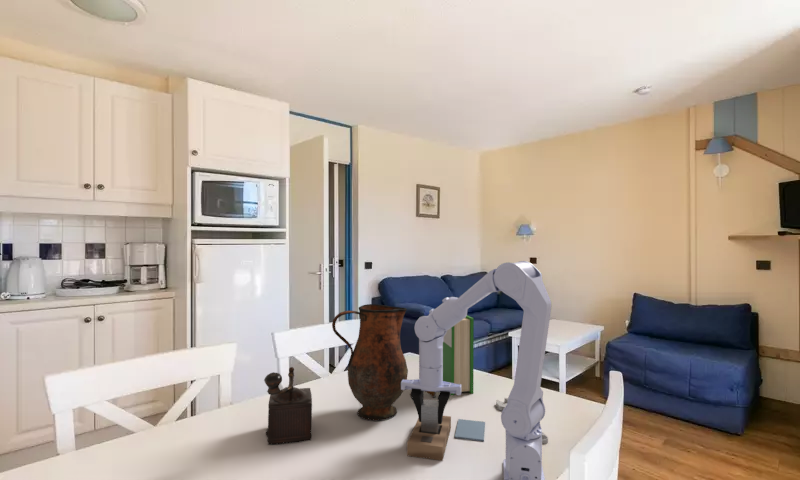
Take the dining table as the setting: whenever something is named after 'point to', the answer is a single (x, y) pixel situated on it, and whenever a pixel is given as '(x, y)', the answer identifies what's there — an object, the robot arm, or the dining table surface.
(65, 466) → the dining table surface
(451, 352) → the hardback book
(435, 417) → the steel peg
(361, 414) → the pitcher
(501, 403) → the adjustable wrench
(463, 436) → the slate mat
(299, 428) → the manual coffee grinder
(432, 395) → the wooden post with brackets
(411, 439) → the brown flat rectangular block
